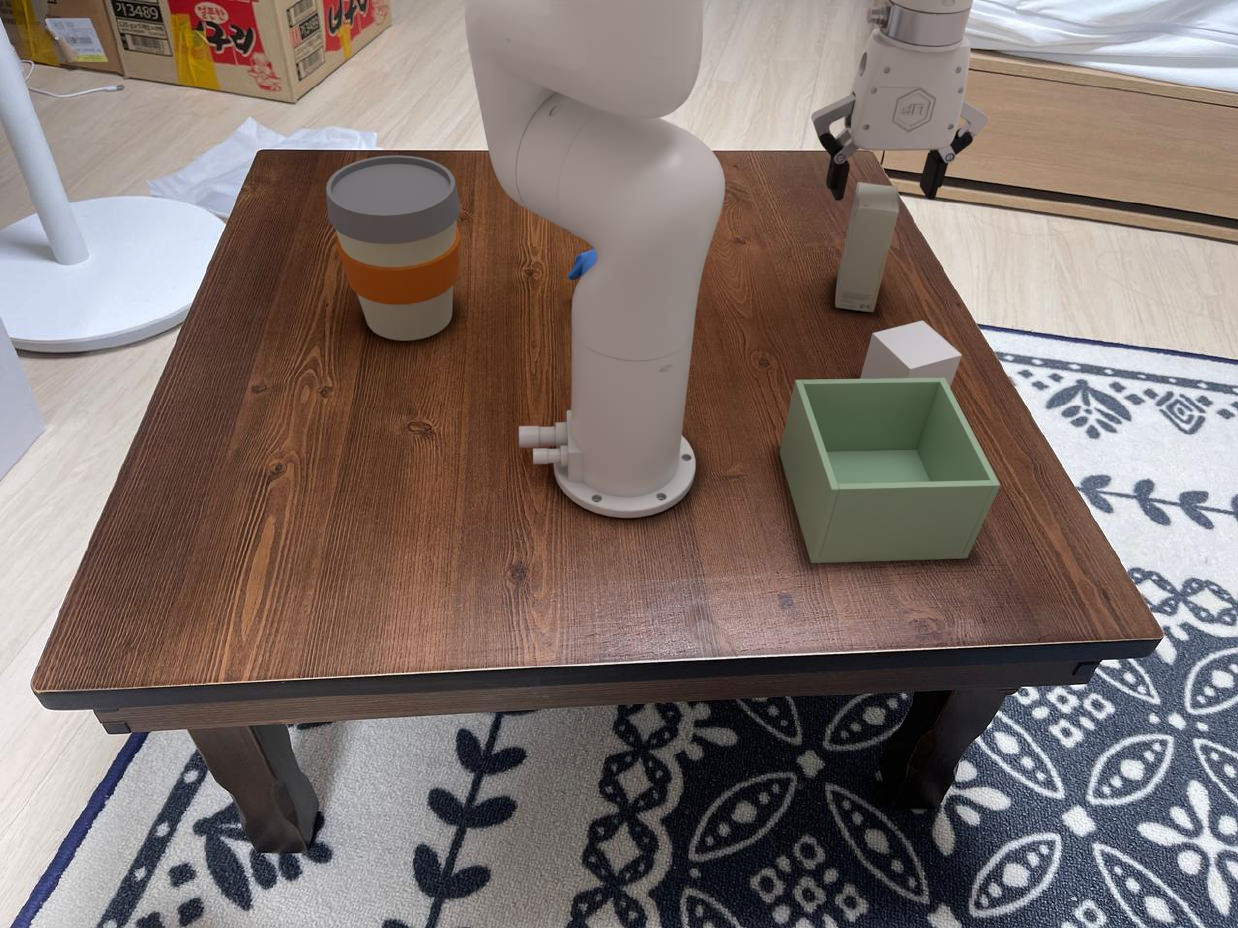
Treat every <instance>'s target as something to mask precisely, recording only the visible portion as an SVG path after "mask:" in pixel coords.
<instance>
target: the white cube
mask: <svg viewBox="0 0 1238 928" xmlns="http://www.w3.org/2000/svg"><path fill="white" fill-rule="evenodd" d="M962 357H963V354H962V353H961V352H960V351H958V350H957V349H956V348H955V347H954V346H953V345H951V344H950V343H949V341H947V340H946V339H945V338H944V337H943V336H942V335H940V334H939V333H938V332H937V331H935V330H934V328H932V327H931V326H930V325H929V324H928V323H926V321H924V320H918V321H915V322H911V323H907V324H903V325H899V326H895V327H892V328H887V329H883V330H879V331H875V332H872V334H871V338H870V341H869V343H868V348H867V352H866V355H865V359H864V362H863V366H862V369H861V374H860V377H859V379H882V378H945V379H946V381H947V383H948V385H949V387H950V388H951V386H952V384H953V382H954V378H955V376H956V373H957V370H958V367H959V364H960V362H961V360H962Z"/></svg>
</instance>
